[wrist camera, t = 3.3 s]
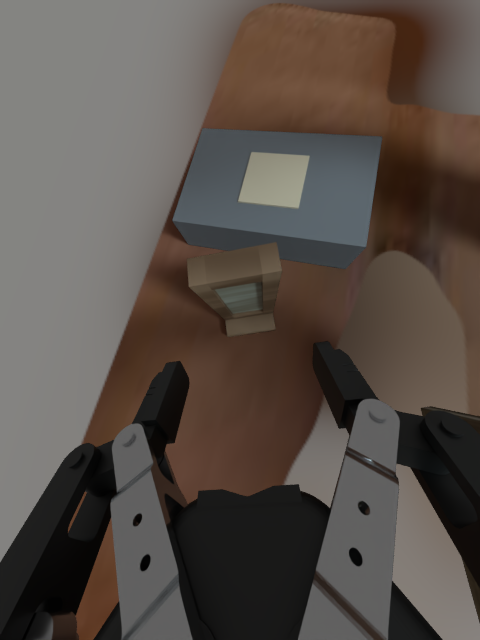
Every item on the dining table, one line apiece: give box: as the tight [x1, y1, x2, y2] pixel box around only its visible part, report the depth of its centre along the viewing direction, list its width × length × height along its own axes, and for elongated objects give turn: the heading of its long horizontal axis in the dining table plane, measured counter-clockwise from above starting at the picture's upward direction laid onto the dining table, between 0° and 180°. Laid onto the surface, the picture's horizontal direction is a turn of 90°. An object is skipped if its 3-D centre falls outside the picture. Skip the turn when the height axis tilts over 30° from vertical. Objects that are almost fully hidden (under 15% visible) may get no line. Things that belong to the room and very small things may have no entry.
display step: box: [172, 128, 382, 269], centre depth 24 cm, size 22×14×5 cm, turn 76°
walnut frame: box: [187, 242, 282, 337], centre depth 18 cm, size 6×6×13 cm
